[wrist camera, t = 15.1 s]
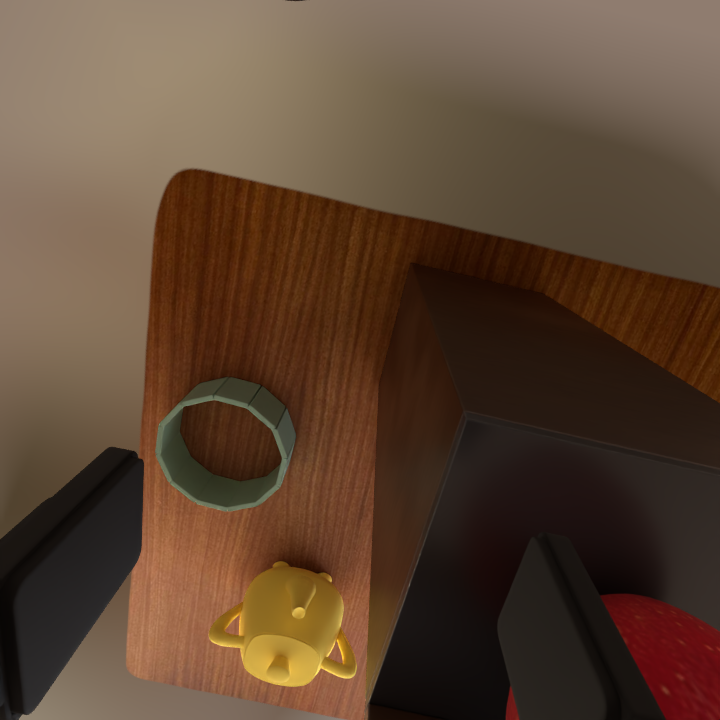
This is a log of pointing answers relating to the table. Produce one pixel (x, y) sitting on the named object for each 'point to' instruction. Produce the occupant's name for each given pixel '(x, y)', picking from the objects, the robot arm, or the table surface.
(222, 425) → the table surface
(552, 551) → the robot arm
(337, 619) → the yellow two-handled pot
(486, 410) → the stand
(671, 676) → the apple
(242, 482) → the faceted green band
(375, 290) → the table surface
